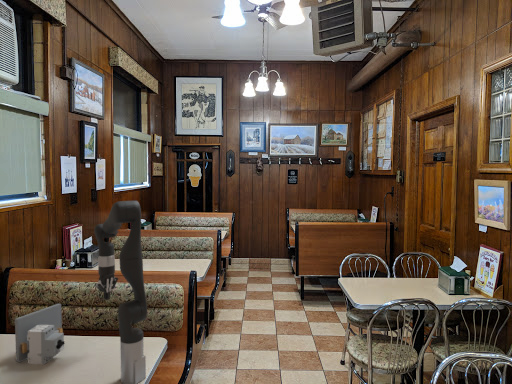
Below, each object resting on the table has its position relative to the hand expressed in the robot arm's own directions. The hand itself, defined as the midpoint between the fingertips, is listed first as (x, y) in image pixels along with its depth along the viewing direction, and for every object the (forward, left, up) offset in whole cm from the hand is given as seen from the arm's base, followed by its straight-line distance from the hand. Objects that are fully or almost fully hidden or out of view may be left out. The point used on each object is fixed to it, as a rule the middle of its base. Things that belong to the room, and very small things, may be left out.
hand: (107, 299), depth 181 cm
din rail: (+26, +16, -21) cm, 37 cm away
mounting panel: (+28, +16, -25) cm, 40 cm away
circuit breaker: (+17, +20, -25) cm, 36 cm away
